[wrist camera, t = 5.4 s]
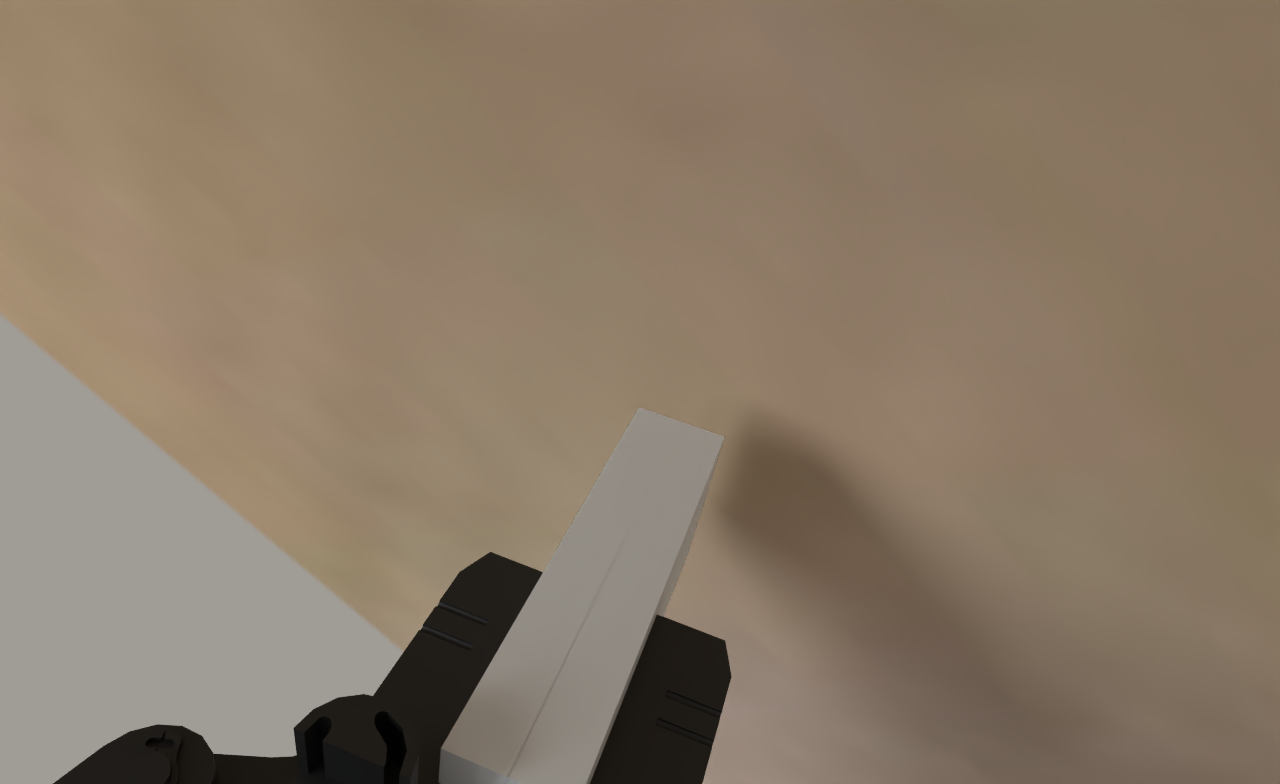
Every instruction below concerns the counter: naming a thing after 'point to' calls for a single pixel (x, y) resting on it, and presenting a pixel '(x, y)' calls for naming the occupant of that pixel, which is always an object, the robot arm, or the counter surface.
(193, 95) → the counter surface
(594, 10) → the counter surface
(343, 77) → the counter surface
